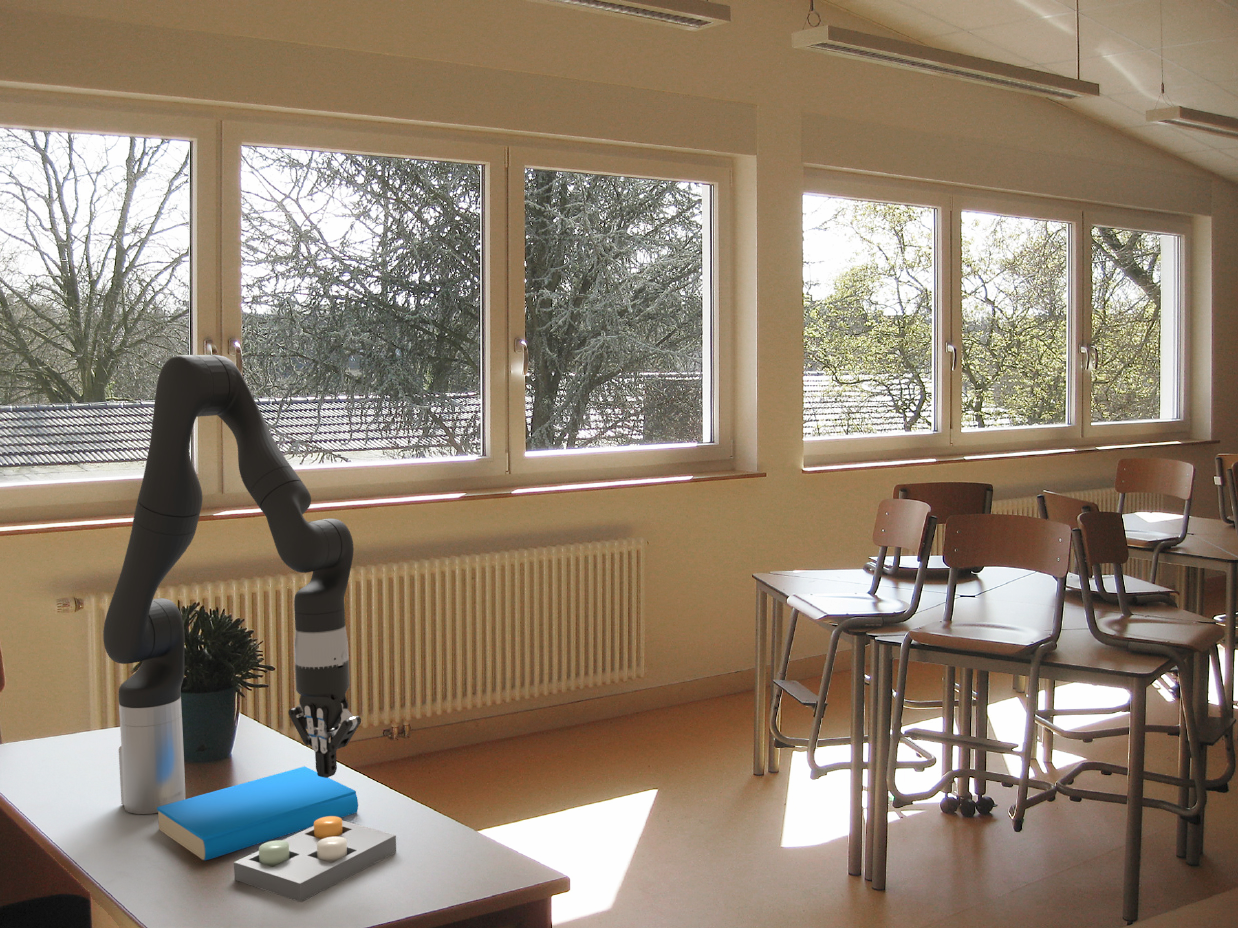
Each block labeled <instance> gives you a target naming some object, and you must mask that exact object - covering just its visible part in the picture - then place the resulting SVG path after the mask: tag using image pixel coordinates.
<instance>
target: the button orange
mask: <svg viewBox="0 0 1238 928" xmlns="http://www.w3.org/2000/svg"><path fill="white" fill-rule="evenodd" d="M342 821H343V818H342V817H341V818H340V817H336V816H328V817H322V818H319V819H317V820H316V821H315V822H314V837H316V838H320V839H324V838H327V837H337V836H339V835H341V834H343V830H342Z"/></svg>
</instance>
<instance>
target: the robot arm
mask: <svg viewBox="0 0 1238 928" xmlns="http://www.w3.org/2000/svg"><path fill="white" fill-rule="evenodd" d="M248 385H249V384H247V382H246V380H245V378H244V376H243V374H242V373H241V370H239V368H238V366H237V365H236V364H235V363H234V361H233V360H231V359H230V358H228V357H226V356H225V355H224V356H223V355H218V354H179V355H175V356H172V357H170V358H169V359H168V360H166V362H165V363H164V364H163V366H162V367H161V370H160V373H159V376H158V378H157V385H156V389H155V396H154V404H153V405H154V406H153V414H152V424H151V431H150V441H149V447H148V453H147V458H146V463H145V468H144V473H143V477H142V481H141V485H140V489H139V493H138V496H137V500H136V505H135V510H134V516H133V521H132V527H131V532H130V536H129V540H128V544H127V548H126V551H125V552H126V553H125V556H124V560H123V565H122V567H121V571H120V574H119V578H118V581H117V584H116V586H115V588H114V589H115V590H114V591H113V594H112V595H113V596H112V597H111V600H110V603H109V606H108V609H107V613H106V616H105V618H104V619H105V620H104V626H103V637H102V639H103V644H104V649H105V652H106V654H107V656H108V658H110V660H111V661H112V662H115V663H117V664H121V665H124V664H125V665H127V664H135V663H138V662H142V663H141V664H140V666H139V668H138V669H137V670H136V671H135V672H134V673H133V674H132V675H131V676H130V677H128V678H127V679H126V680H125V681H123V682H122V683H121V684H120V686H119V687H118V709H119V726H120V743H121V744H120V746H119V747H118V761H119V762H118V763H119V783H120V784H119V785H120V802H121V803H120V804H121V805H123V806H124V808H123V809H124V810H125V811H126V812H128V813H131V814H135V815H149V814H158V810H157V807H159V806H163V805H167V804H170V803H174V802H177V801H181V800H185V799H186V782H185V781H186V779H185V776H186V775H185V773H186V772H185V756H184V755H185V754H184V736H183V735H184V734H183V733H184V732H183V716H182V715H183V714H182V713H183V711H182V694H181V693H182V692H181V691H182V690H181V688H182V684H183V681H184V677H185V625H184V620H183V617H182V616H183V615H182V613H181V611H180V609H179V608H178V606H177V604H176V603H175V602H173V601H172V599H168V598H164V597H162V598H155V595H156V593H157V591H158V588H159V586H160V585H161V583H162V582H163V579H165V577H166V576H167V575H168V574H169V572H170V571H171V570H172V569H173V568H174V566H175V565H176V563H177V562H179V560H180V559H181V557H182V556H183V555H184V554H185V552H186V551H187V549H188V547H189V546H190V545H191V543H192V542H193V539H194V537H195V534H196V531H197V528H198V523H199V520H200V514H201V510H202V505H203V490H202V487H201V483H200V481H199V478H198V474H197V473H196V470H195V468H194V465H193V463H192V459H191V455H190V444H191V438H192V432H193V428H194V424H195V421H196V420H197V418H199V417H213V416H217V417H219V418H220V419H221V420H222V422H223V423H224V424H225V425H226V426H227V427H228V428H229V429H230V431H231V432H232V434H233V436H234V438H235V442H236V445H237V462H238V463H237V464H238V471H239V474H240V477H241V481H242V483H243V485H244V487H245V489H246V491H247V492H248V493H249V495H250V496H251V497H252V499H253V501H254V502H255V504H256V505H257V506H258V508H259V510H261V512H262V513H263V515H265V517H266V520H267V524H268V527H269V530H270V534H271V536H272V539H273V543H274V546H275V548H276V551H277V553H278V556H279V557H280V559H281V560H282V562H283V563H284V564H285V565H286V566H287V567H288V568H289V569H291V570H292V571H294V572H297V573H303V574H306V573H311V572H312V573H311V578H310V581H309V582H308V583H307V584H306V585H305V586H303V587H302V588H299V590H297V591H296V592H295V594H294V599H293V603H294V604H293V607H294V608H293V611H294V629H295V630H294V641H293V642H294V643H293V650H294V673H295V676H294V677H295V689H296V690H295V691H296V692H297V694H298V695H300V696H299V701H298V702H299V704H297V706H296V707H292V708H291V709H288V711H287V713H288V716H289V718H290V719H291V722H292V723H293V726H294V727H295V729H296V732H297V733H298V735H299V737H300V739H301V740H302V742H303V744H304V745H305V746H310V747H311V748H312V751H313V752H314V754H315V755H314V756H315V757H314V759H315V771H316V772H317V775H318V776H320V777H324V778H330V777H333V776H335V774H336V772H337V768H338V766H337V765H338V764H337V750H339V749H342V748H345V747H347V745H348V744H349V742H350V741H351V739H352V738H353V736H354V734H355V733H356V731H357V730H358V728H359V726H360V725H361V722H362V719H361V716H359V715H355V716H354V715H353V714H352V713H351V712H350V711H349V705H350V704H349V701H348V700H347V696H346V695H347V694H346V693H347V691H348V690H349V688H350V685H351V683H350V663H349V661H350V660H349V643H348V642H349V639H348V635H347V634H348V633H347V627H346V610H345V609H346V607H345V606H346V605H345V595H346V592H347V588H348V583H349V579H350V573H351V569H352V565H353V558H354V550H355V549H354V540H353V536H352V534H351V532H350V529H349V528H348V526H347V525H346V524H345V523H344V522H343V521H342V520H340V519H337V518H332V517H331V518H323V519H319V520H312V521H311V520H310V521H307V520H306V519H305V517H304V516H303V515H304V514H305V513H306V512H307V511H308V509H309V508H310V507H311V504H312V496H311V493H310V491H309V489H308V488H307V486H306V485H305V484H304V483H303V481H302V480H301V478H300V477H299V475H298V473H296V471H295V469H294V468H293V467H292V466H291V464H290V463H289V461H288V460H287V459H286V457H285V455H284V454H283V453H282V451H281V449H280V448H279V446H278V445H277V442H276V441H275V439H274V437H273V436H272V434H271V431H270V430H269V427H268V425H267V422H266V421H265V419H264V417H263V414H262V412H261V411H260V408H259V406H258V404H257V402H256V401H255V398H254V396H253V394H252V392H251V390H250V388H249V386H248Z"/></svg>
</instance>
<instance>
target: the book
mask: <svg viewBox="0 0 1238 928" xmlns="http://www.w3.org/2000/svg"><path fill="white" fill-rule="evenodd" d="M358 809H359V801H358V796H357V790H355V789H353V788H351V787H349V786H346V785H345V784H342V783H341V782H338V781H337V780H334V779H332V778H330V777H328V778H324V777H320V776H318V775H317V771H316V770H314V769H311V768H309V767H307V766H305V765H304V766H301V767H297V768H294V769H290V770H287V771H286V770H285V771H283V772H280V773H275V774H272V775H269V776H268V775H267V776H264V777H261V778H257V779H252V780H251V781H247V782H242V783H239V784H235V785H233V786H229V787H225V788H222V789H218V790H214V791H211V792H207V793H203V794H199V795H195V796H193V797H189V798H185V800H181V801H177V802H174V803H170V804H167V805H163V806H159V807H157V810H158V813H157V815H158V816H157V817H158V829H159V831H161V832H162V833H163V834H165V835H167V836H168V837H169V838H171V839H172V840H174V841H175V842H176V843H178V844H179V845H180V846H182V847H184V848H185V849H187V850H188V851H190V852H191V853H192V854H194V855H195V856H197V857H198V858H199V859H201V860H202V861H204V862H205V861H209V860H212V859H215V858H218V857H221V856H225V855H228V854H230V853H231V854H232V853H233V852H236V851H240V850H243V849H247V848H250V847H253V846H256V845H259V844H263V843H266V842H270V841H273V840H274V839H277V838H281V837H284V836H285V837H286V836H288V835H290V834H294V833H296V832H297V833H298V832H301V831H303V830H306V829H308V828H310V827H312V826H314V822H315V821H316V820H317V819H319V818H322V817H328V816H336V817H340V818H341V819H342V818H343V817H348V816H350V815H354V814H357V813H358Z"/></svg>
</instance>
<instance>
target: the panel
mask: <svg viewBox="0 0 1238 928" xmlns="http://www.w3.org/2000/svg"><path fill="white" fill-rule="evenodd" d="M342 830H343V834H341V835H339V836H337V837H343V838H345V839H346V841H347V856H345V857H343V858H341V859H339V860H337V861H335V862H333V863H330V862H327V861H323V860H320V859H317V843H318V841H320V840H322V839H320V838H316V837H314V826H312V827H310V828H307V829H303V830H300V831H298V832H297V833H295V834H292V835H291V836H288V837H285V838H284V839H280V840H281V841H286V842H288V843H289V857H290V859H289V860H287V861H284V862H282V863H280V864H278V865H276V866H274V867H271V866H267V865H264V864H261V863H259V850H258V851H255V852H254V853H253V852H252V853H251V854H249V855H247V856H245V857H242V858H240V859H238V860H236V861H234V862H233V870H234V872H233V873H234V880H235V881H237V882H240V883H243V884H247V885H248V886H253V887H255V888H258V889H261V890H265V891H267V892H271V893H273V894H276V895H278V896H279V895H280V896H282V897H285V898H287V899H291V900H293V901H297V902H303V901H306V900H307V899H309V898H311V897H313V896H315V895H317V894H318V893H321V892H323V891H324V890H326V889H329V888H330V887H332V886H334V885H336V884H338V883H341V882H342V881H344V880H345V879H347V878H349V877H351V876H353V875H355V874H357V873H359V872H361V871H363V870H365V869H366V868H368V867H370V866H372V865H374V864H376V863H378V862H380V861H382V860H384V859H387V858H388V857H390V856H391V855H393V854H396V852H397V835H396V834H393V833H389V832H386V831H382V830H378V829H375V828H371V827H368V826H364V825H360V824H356V823H353V822H349V821H345V820H342Z"/></svg>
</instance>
